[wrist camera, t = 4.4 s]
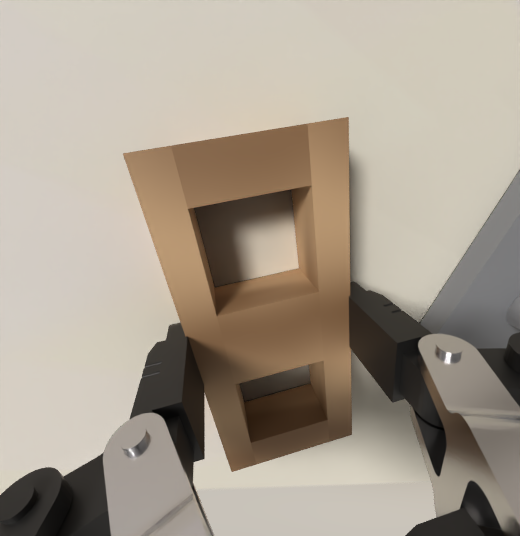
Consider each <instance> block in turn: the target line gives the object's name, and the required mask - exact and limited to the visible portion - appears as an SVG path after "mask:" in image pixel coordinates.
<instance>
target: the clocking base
mask: <svg viewBox="0 0 520 536" xmlns="http://www.w3.org/2000/svg"><path fill="white" fill-rule="evenodd" d="M420 324H421V325H422V326H423V327H425V328H426V329H427V330H428V331H430V332H431V333H432V334H446V335H451V336H455V337H458V338H460V339H463V340H465V341H466V342H468V343H470V344H471V345H473V346H474V347H475V348H476V349H481V348H506V347H507V344H508V340H509V338H510V336H511V335H513V334H515V333H519V332H520V171H519V172H518V174H517V175H516V177H515V178H514V180H513V181H512V183H511V184H510V186H509V188H508V189H507V191H506V192H505V194H504V195H503V197H502V198H501V200H500V201H499V203H498V204H497V206H496V207H495V209H494V210H493V212H492V214H491V215H490V217H489V218H488V220H487V221H486V223H485V224H484V226H483V227H482V229H481V230H480V232H479V233H478V235H477V236H476V238H475V240H474V241H473V243H472V244H471V246H470V247H469V249H468V250H467V252H466V253H465V255H464V256H463V258H462V259H461V261H460V262H459V264H458V266H457V267H456V269H455V270H454V272H453V273H452V275H451V276H450V278H449V279H448V281H447V282H446V284H445V285H444V287H443V288H442V290H441V292H440V293H439V295H438V296H437V298H436V299H435V301H434V302H433V304H432V305H431V307H430V308H429V310H428V311H427V313H426V315H425V316H424V318H423V319H422V321H421V322H420Z"/></svg>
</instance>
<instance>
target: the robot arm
mask: <svg viewBox="0 0 520 536" xmlns="http://www.w3.org/2000/svg"><path fill="white" fill-rule="evenodd" d="M349 347H350V348H351V349H352V351H353V352H354V353H355V355H356V356H357V357H358V358H359V360H360V361H361V362H362V364H363V365H364V366H365V368H366V369H367V370H368V371H369V373H370V374H371V375H372V377H373V378H374V379H375V381H376V382H377V383H378V384H379V386H380V387H381V388H382V390H383V391H384V392H385V394H386V395H387V396H388V397H389V399H390V400H391V401H392V402H396V401H399V400H402V399H406V400H407V401H408V402H409V404H410V416H411V419H412V423H413V426H414V429H415V432H416V435H417V438H418V441H419V445H420V448H421V451H422V454H423V457H424V460H425V463H426V466H427V470H428V473H429V476H430V479H431V483H432V487H433V492H434V504H435V510H436V517H437V518H434V519H432V520H429V521H426V522H424V523H421V524H418V525H416V526H415V527H414V528H413V529H412V530H411V531H410V532H409V533H408V534H407V535H406V536H520V332H519V333H515V334H513V335H511V336H510V338H509V340H508V344H507V347H506V348H481V349H476V348H475V347H474V346H473V345H471V344H470V343H468V342H466V341H465V340H463V339H460V338H458V337H455V336H451V335H446V334H432V333H431V332H430V331H428V330H427V329H426V328H425V327H423V326H422V325H421V324H419V323H418V322H417V321H415V320H414V319H413V318H412V317H410V316H409V315H408V314H406V313H405V312H404V311H401V309H400V308H399V307H397V306H396V305H395V304H394V305H393V303H392V302H391V301H389V300H388V299H387V298H386V297H384V296H383V295H380V294H378V293H375V292H373V291H370V290H369V291H365V290H364V289H363V288H362V287H360V286H359V285H358V284H357V283H355V282H350V296H349ZM202 459H204V383H203V380H202V377H201V374H200V371H199V368H198V365H197V363H196V360H195V357H194V354H193V351H192V348H191V345H190V342H189V339H188V336H186V337H185V334H184V331H183V328H182V325H181V323H177V324H172V325H170V326H169V329H168V334H167V339H166V340H165V341H161V342H157V343H156V344H155V346H154V347H153V348H152V350H151V351H150V352H149V354H148V356H147V360H146V363H145V368H144V370H143V374H142V379H141V381H140V384H139V388H138V391H137V395H136V398H135V402H134V405H133V409H132V413H131V416H130V420H128V421H127V422H125V423H124V424H123V425H122V426H120V427H119V428H118V429H117V430H116V432H115V433H114V434H113V435H112V436H111V438H110V439H109V441H108V443H107V445H106V447H105V450H104V453H103V454H101V455H100V456H98V457H97V458H95V459H93V460H92V461H90V462H88V463H86V464H85V465H83V466H81V467H79V468H78V469H76V470H74V471H73V472H71V473H69V474H67V475H66V476H64V477H63V476H62V475H61V474H60V472H59V471H58V470H56V469H55V468H51V467H48V468H41V469H38V470H35V471H33V472H31V473H29V474H27V475H25V476H24V477H22V478H21V479H19V480H18V481H16V482H15V483H14V484H12V485H11V486H10V487H9V488H8V489H6V490H5V491H4V492H3V493H2V494H1V495H0V536H214V534H213V531H212V529H211V526H210V524H209V521H208V519H207V516H206V514H205V511H204V509H203V506H202V504H201V501H200V498H199V496H198V493H197V491H196V488H195V486H194V484H193V462H196V461H199V460H202Z"/></svg>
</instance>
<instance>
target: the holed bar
mask: <svg viewBox="0 0 520 536" xmlns="http://www.w3.org/2000/svg"><path fill="white" fill-rule="evenodd" d="M123 155H124V158H125V161H126V164H127V167H128V170H129V173H130V176H131V179H132V182H133V184H134V187H135V190H136V193H137V196H138V199H139V202H140V205H141V208H142V211H143V214H144V217H145V220H146V223H147V225H148V228H149V231H150V234H151V237H152V240H153V243H154V246H155V249H156V252H157V255H158V258H159V261H160V263H161V266H162V269H163V272H164V275H165V278H166V281H167V284H168V287H169V290H170V293H171V296H172V299H173V301H174V304H175V307H176V310H177V313H178V316H179V319H180V322H181V325H182V328H183V331H184V334H185V337H186V336H188V339H189V342H190V345H191V348H192V351H193V354H194V357H195V360H196V363H197V365H198V368H199V371H200V374H201V377H202V380H203V383H204V392H205V395H206V398H207V401H208V404H209V407H210V410H211V413H212V416H213V418H214V421H215V424H216V427H217V430H218V433H219V436H220V439H221V442H222V445H223V448H224V451H225V454H226V456H227V459H228V462H229V465H230V468H231V471H232V472H233V471H237V470H240V469H243V468H246V467H249V466H253V465H256V464H259V463H262V462H265V461H269V460H272V459H275V458H278V457H281V456H285V455H288V454H291V453H294V452H298V451H301V450H304V449H307V448H310V447H314V446H317V445H320V444H323V443H326V442H330V441H333V440H336V439H339V438H343V437H346V436H349V435H352V408H351V348H350V347H349V296H350V214H349V117H346V118H340V119H334V120H328V121H321V122H315V123H309V124H303V125H297V126H291V127H284V128H278V129H272V130H266V131H260V132H253V133H247V134H241V135H235V136H229V137H222V138H216V139H210V140H204V141H198V142H192V143H185V144H179V145H173V146H167V147H161V148H154V149H148V150H142V151H136V152H130V153H124V154H123ZM290 189H291V192H292V202H293V212H294V222H295V232H296V242H297V252H298V262H299V269H294V270H290V271H285V272H281V273H277V274H272V275H268V276H263V277H259V278H255V279H250V280H246V281H241V282H237V283H233V284H228V285H224V286H219V287H214V284H213V280H212V276H211V272H210V268H209V264H208V260H207V256H206V253H205V249H204V245H203V241H202V237H201V233H200V229H199V226H198V222H197V218H196V214H195V210H194V208H195V207H200V206H206V205H211V204H216V203H221V202H227V201H232V200H237V199H242V198H248V197H253V196H258V195H263V194H269V193H274V192H279V191H284V190H290ZM305 365H309V372H310V382H311V384H307V385H303V386H300V387H296V388H293V389H289V390H286V391H282V392H279V393H275V394H271V395H268V396H264V397H261V398H257V399H254V400H250V401H247V402H244V400H243V396H242V392H241V388H240V384H239V383H243V382H247V381H250V380H254V379H258V378H261V377H265V376H269V375H272V374H276V373H280V372H283V371H287V370H291V369H294V368H298V367H302V366H305Z"/></svg>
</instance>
